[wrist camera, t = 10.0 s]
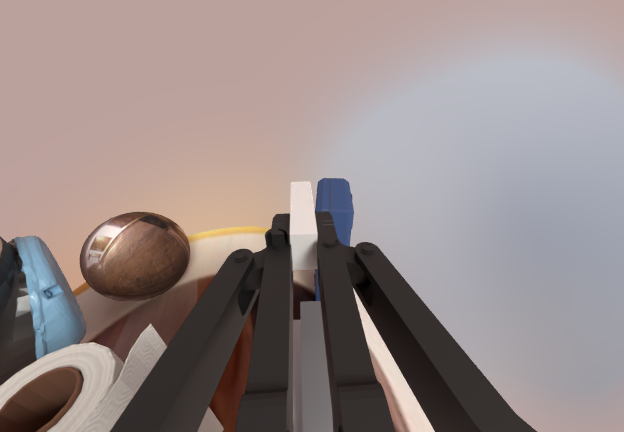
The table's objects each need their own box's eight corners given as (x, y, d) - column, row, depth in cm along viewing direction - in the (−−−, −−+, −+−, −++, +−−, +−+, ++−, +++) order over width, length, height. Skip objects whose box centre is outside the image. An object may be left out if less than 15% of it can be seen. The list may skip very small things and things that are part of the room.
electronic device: (316, 268, 47) (316, 177, 36) (341, 268, 47) (349, 178, 36) (314, 309, 39) (313, 209, 28) (344, 310, 39) (355, 210, 28)
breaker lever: (352, 469, 21) (335, 300, 29) (299, 472, 21) (297, 301, 29) (348, 462, 22) (333, 304, 31) (300, 465, 22) (298, 305, 31)
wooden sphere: (87, 323, 38) (22, 255, 29) (139, 258, 50) (104, 197, 42) (181, 317, 38) (143, 250, 30) (209, 255, 51) (188, 194, 42)
